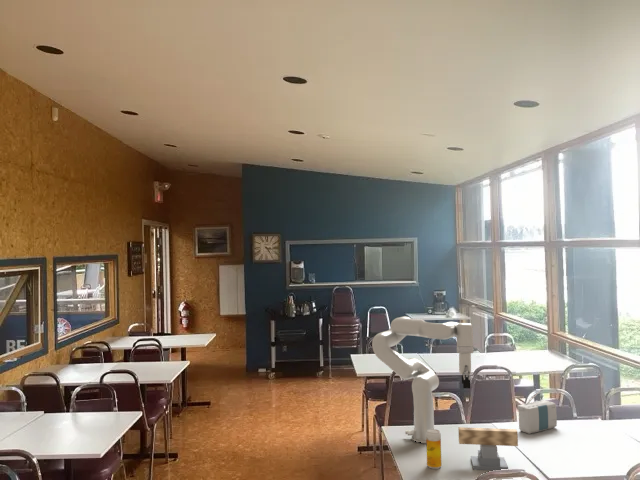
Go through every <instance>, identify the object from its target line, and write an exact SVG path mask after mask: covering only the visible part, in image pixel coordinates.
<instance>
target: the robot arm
mask: <svg viewBox="0 0 640 480" xmlns="http://www.w3.org/2000/svg"><path fill="white" fill-rule="evenodd" d="M407 336H413V337H414V336H415V337H422V338H427V339H431V340H432V339H435V340H448V339H452V338H455V337H456V353H457V354H458V368H459V369H458V372H459V374H460V375H461V384H463V385H462V387H463V389H471V378H470V375H471V374H472V354H473V353H474V331H473V324H472V323H470V322H469V323H468V322H456V321H447V322H443V323H440V322H439V323H437V322H429V321H425V320H424V319H422V318H410V317H409V316H405V315H404V316H400V317H399V316H398V317H396V318H394V319H393V320H392V321H391V324H390V328H389V329H388V330H385V331H382V332H381V331H380V332H378V333H377V334H376V335H374V337H373V338H372V342H371V343H372V344H371V345H372V350H373V353H374V354H375V356H376V357H377V359H379V360H380V361H381V362H382V363H384V364H385V365H386V367H388V368H390V370H391V371H393V372H394V373H395V374H396V375H398V376H399V377H400V378H401V379H403V380H406V381H407V380H411V379H413V380H412V382H411V391H412V396H413V417H414V418H413V420H414V421H413V423H414V427H413V429H412V430H407V429H406V430H404V433H405V435H407V436H411V440H412V439H413V440H414V441H413V440H412V441H413V442H415V441H416V442H415V443H418V442H421V443H420V444H426V433H427V430H430V429H435V417H434V416H435V414H434V413H435V412H434V411H435V409H434V399H433V394H432V392H433V391H435V390H436V389H437V388H438V387H439V384H440V379H439V376H438V375H437V374H436V373H435V372H434V371H433V370H432V369H430V368H429V367H428V366H427V365H425V364H424V362H421V361H420V360H419V359H417V358H414V357H413V358H412V357H411V358H410V357H409V358H405V357H404V356H402V355H401V354H400V353H399V352H397V351H396V350H395V349H393V348H391V347H395V346H396V345H398V344H399V343H400V342H401V341H402V340H403V339H404V338H406V337H407Z"/></svg>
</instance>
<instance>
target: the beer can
mask: <svg viewBox="0 0 640 480" xmlns="http://www.w3.org/2000/svg"><path fill="white" fill-rule="evenodd" d="M441 436H442V435H441V432H440V430H438V429H435V428H434V429H430V430H427V433H426V443H425V444H426V465H427V466H428V468H429V469H431V470H432V469H433V470H438V469H440V468H441V467H442V438H441Z"/></svg>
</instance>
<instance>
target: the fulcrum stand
mask: <svg viewBox="0 0 640 480" xmlns="http://www.w3.org/2000/svg"><path fill="white" fill-rule="evenodd" d="M497 446H498V445H479V449H477V455H471V456H470V462H471V465H472V470H477V471H478V470H479V471H480V470H481V471H496V470H501V469H508V470H509V467H508V464H507V462H506V459H505V457H504V456H500V455H499V453H498V447H497Z"/></svg>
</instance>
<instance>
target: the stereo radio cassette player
mask: <svg viewBox="0 0 640 480" xmlns="http://www.w3.org/2000/svg"><path fill="white" fill-rule="evenodd" d="M542 390H543V388H541V389H540V390H538V392H537V393H536V394H534V396H533V397H532V398H531V399H529V400H528V401H527V402H526V403H523V404H517V410H518V425H519V426H518V429H519V431H520V432H523V433H525V434H527V435H530V434H534V433H538V432H542V431H546V430H550V429H554V428H556V427H557V425H558V424H557V423H558V421H557V419H558V417H557V404H556V403H555V402H554V401H553V402H552V401H548V400H544V399H543V400H538V401H533V402H531V401H532V400H534V398H535V397H537V396H538V394H539V393H540V392H541V391H542Z"/></svg>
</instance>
